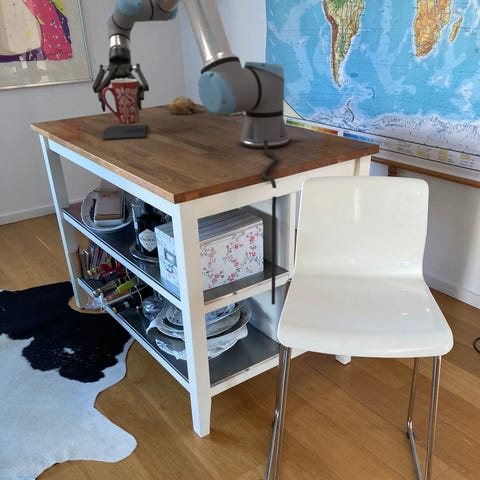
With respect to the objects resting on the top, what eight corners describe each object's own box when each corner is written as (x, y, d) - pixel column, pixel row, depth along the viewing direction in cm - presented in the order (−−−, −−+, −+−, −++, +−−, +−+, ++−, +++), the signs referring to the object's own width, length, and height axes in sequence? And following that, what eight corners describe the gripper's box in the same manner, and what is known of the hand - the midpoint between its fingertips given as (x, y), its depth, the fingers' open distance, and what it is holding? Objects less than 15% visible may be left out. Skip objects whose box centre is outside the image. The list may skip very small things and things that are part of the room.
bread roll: (181, 124, 210) (187, 106, 205) (163, 111, 212) (168, 92, 207) (196, 120, 217) (202, 102, 212) (178, 107, 219) (183, 89, 214)
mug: (138, 118, 187) (132, 77, 180) (146, 122, 180) (141, 80, 173) (103, 122, 182) (96, 81, 175) (110, 127, 175) (103, 84, 168)
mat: (145, 138, 175) (145, 136, 174) (103, 140, 173) (102, 138, 173) (146, 126, 192) (146, 124, 191) (108, 128, 190) (108, 126, 190)
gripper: (155, 60, 185) (158, 113, 180) (87, 62, 184) (88, 116, 179) (153, 44, 178) (155, 99, 173) (82, 47, 176) (83, 102, 171)
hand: (121, 108), depth 176 cm, fingers closed on mug, 12 cm apart
